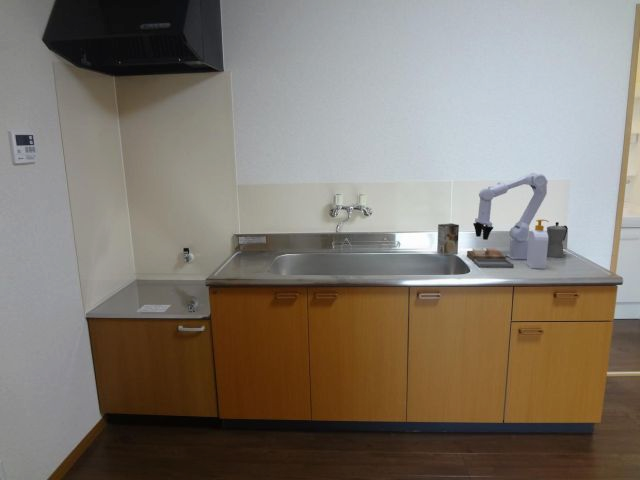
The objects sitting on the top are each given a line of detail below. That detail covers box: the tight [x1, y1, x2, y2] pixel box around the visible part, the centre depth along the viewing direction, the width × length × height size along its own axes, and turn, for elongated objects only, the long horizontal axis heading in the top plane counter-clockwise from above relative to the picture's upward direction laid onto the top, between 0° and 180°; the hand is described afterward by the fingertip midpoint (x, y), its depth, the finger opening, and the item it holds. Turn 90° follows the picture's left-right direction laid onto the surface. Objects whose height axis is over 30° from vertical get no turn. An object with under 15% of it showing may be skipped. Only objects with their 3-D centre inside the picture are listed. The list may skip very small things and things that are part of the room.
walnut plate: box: [466, 250, 507, 263], centre depth 237 cm, size 16×12×3 cm
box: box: [473, 258, 514, 269], centre depth 226 cm, size 16×10×2 cm, turn 87°
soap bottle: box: [526, 219, 550, 270], centre depth 221 cm, size 9×7×23 cm
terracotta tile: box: [485, 247, 500, 254], centre depth 238 cm, size 5×5×2 cm
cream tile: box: [471, 247, 486, 254], centre depth 238 cm, size 5×5×2 cm
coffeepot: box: [546, 221, 569, 259], centre depth 243 cm, size 15×9×18 cm, turn 118°
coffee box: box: [436, 223, 460, 256], centre depth 249 cm, size 9×6×16 cm
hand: (481, 238), depth 240 cm, fingers open, 7 cm apart
